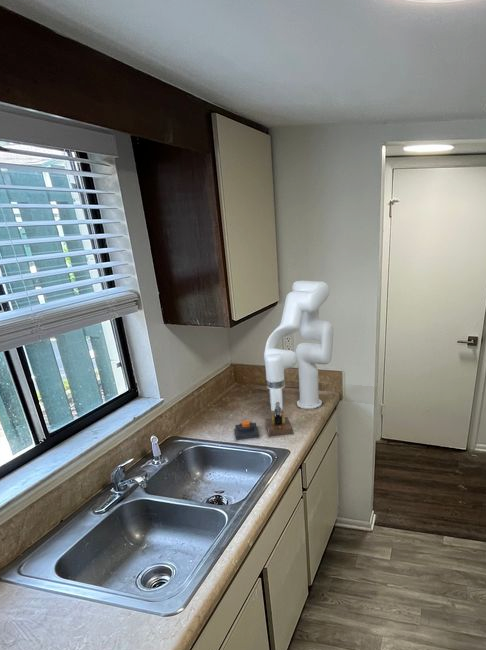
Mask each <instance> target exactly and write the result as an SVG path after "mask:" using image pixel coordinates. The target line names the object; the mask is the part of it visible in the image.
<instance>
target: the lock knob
mask: <svg viewBox="0 0 486 650" xmlns="http://www.w3.org/2000/svg"><path fill="white" fill-rule="evenodd" d="M270 415H271V419H272V425H273V424H275V419H274V416H275V413H274V412H271V414H270ZM281 415H282V424H285V417H286V416H285V411H283V410H282V411H281Z"/></svg>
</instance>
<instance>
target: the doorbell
mask: <svg viewBox="0 0 486 650" xmlns="http://www.w3.org/2000/svg"><path fill="white" fill-rule="evenodd" d="M234 427H235V434H236V441H242V440H251V439H258V438H259V431H258V426H257V423H256V422H252V421H250V426H249V427H242V422H241V423H239V424H234Z"/></svg>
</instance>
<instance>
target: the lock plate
mask: <svg viewBox="0 0 486 650" xmlns="http://www.w3.org/2000/svg"><path fill="white" fill-rule="evenodd" d="M265 426H266V430H267V434H268V437H269V438H270V437H279V436H286V435H293V427H292V424H291V422H290V419H289V417H288V416H285V424H273V425H272V418H266V419H265Z"/></svg>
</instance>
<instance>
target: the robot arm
mask: <svg viewBox="0 0 486 650" xmlns="http://www.w3.org/2000/svg"><path fill="white" fill-rule="evenodd" d="M291 290H292V291H290V292H288V293H287V294H286V296H285V300H284V301H285V302H284V305H283V311H282V315H281V320H280V323H279V325H278V326H277V327H276V328H275V329H274V330H273V331H272V332H271V333H270V334H269V336H268V338H267V340H266V343H265V348H264V351H263V361H264V367H265V380H266V388H267V389H268V390H269V403H270V404H269V405H270V411H271V413H275V416H274V419H275V424H282V415H281V412H283V407H284V400H283V399H284V398H283V389H284V388H285V387H286V383H285V381H286V380H285V370H288V369H291V368H294V367H295V365H296V364H297V367H298V369H297V370H298V389H299V391H298V392H299V399H298V400H297V401H296V406H297V407H298V408H300V409H305V410H313V409H317V408H320V407H321V406H322V405H323V401H322V400H321V399H320V396H319V392H320V391H319V389H320V388H319V369H318V367H317V365H324V366H325V365H329V364H330V362H332V356H333V343H334V326H333V324H332V323H331V321H328V320H323V319H320V317H319V316H320V308H321V307H322V306H323V305H324V303H325V302H326V301H327V300H328V297H329V295H330V287H329V285H328V283H327V282H325V281H318V280H297V281H294V282H293V283H292V287H291ZM296 332H299V335H300V337H301V338H302V339H304V340H307V341H317V342H320V343H315V342H307V341H305V342H300V343H298V344H297V346H296V347H295V351H293V350H290V349H282V348H277V345H278V343H279V342H280V341H281V340H282V339H283V338H285V337H287V336H289V335H291V334H294V333H296Z"/></svg>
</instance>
